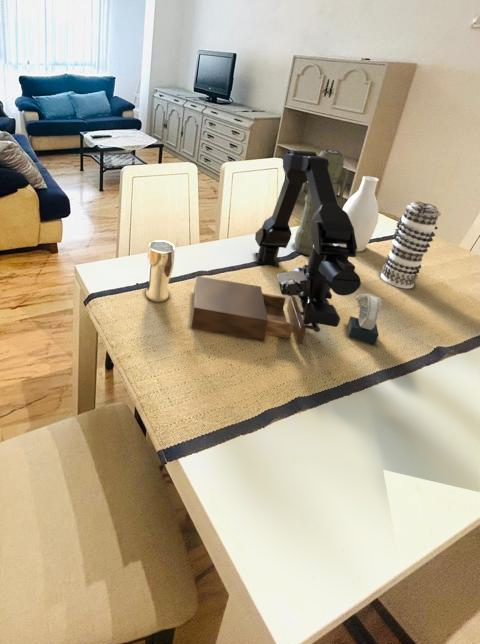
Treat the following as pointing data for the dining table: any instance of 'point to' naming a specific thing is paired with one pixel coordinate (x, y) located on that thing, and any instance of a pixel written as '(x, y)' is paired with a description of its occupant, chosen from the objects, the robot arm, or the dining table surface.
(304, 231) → the thermos
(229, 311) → the cabinet
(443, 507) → the dining table surface
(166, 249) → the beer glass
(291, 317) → the drawer
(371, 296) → the watch
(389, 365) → the dining table surface
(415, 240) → the white and black cylinder
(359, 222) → the bottle
